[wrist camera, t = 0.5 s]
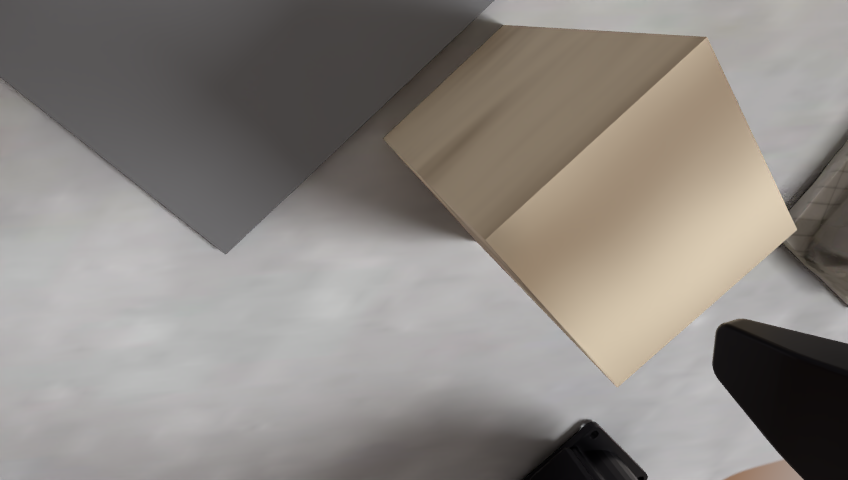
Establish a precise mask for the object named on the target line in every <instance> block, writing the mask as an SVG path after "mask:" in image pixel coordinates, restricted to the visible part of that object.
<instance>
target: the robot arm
mask: <svg viewBox="0 0 848 480" xmlns="http://www.w3.org/2000/svg"><path fill="white" fill-rule="evenodd" d="M712 365H713V370H714V373H715V375H716V377H717V378H718V380H719V381H720V382H721V383H722V385H723V386H724V387H725V388H726V390H727V391H728V392H729V393H730V394H731V396H732V397H733V398H734V399H735V401H736V402H737V403H738V404H739V406H740V407H741V408H742V409H743V410H744V412H745V413H746V414H747V415H748V417H749V418H750V419H751V420H752V421H753V423H754V424H755V425H756V426H757V428H758V429H759V430H760V431H761V433H762V434H763V435H764V436H765V437H766V439H767V440H768V441H769V442H770V443H771V445H772V446H773V447H774V448H775V449H776V451H777V452H778V453H779V454H780V455H781V456H782V457H783V458H784V459H785V460H786V461H787V463H788V464H789V465H790V466H791V467H792V468H793V469H794V470H795V471H796V472H797V473H798V474H799V475H800V476H801V477H802V478H803V479H804V480H848V344H847V343H843V342H838V341H834V340H830V339H826V338H822V337H818V336H814V335H809V334H805V333H801V332H797V331H793V330H789V329H785V328H781V327H776V326H772V325H768V324H764V323H760V322H756V321H752V320H747V319H736V320H733V321H729V322H726V323H723V324H721V325H719V327H718V328H717V330H716V335H715V344H714V352H713V361H712ZM647 478H648V476H647V474H646V473H645V472H644V470H643V469H642V468H641V467H640V466H639V465H638V464H637V463H636V462H635V461H634V460H633V459H632V458H631V457H630V456H629V455H628V454H627V453H626V452H625V451H624V450H623V449H622V448H621V447H620V446H619V445H618V444H617V443H616V442H615V441H614V440H613V439H612V438H611V437H610V436H609V435H608V434H607V433H606V432H605V431H604V430H603V429H602V428H601V427H600V426H599V425H598V424H597V423H596V422H591V423H588V424H587V425H585V426H584V427H583V428H582V429H581V430H580V431H578V432H577V433H576V434H575V435H574V436H573V437H572V438H570V439H569V440H568V441H567V442H566V443H565V444H564V445H562V446H561V447H560V448H559V449H558V450H557V451H556V452H554V453H553V454H552V455H551V456H550V457H549V458H548V459H546V460H545V461H544V462H543V463H542V464H541V465H540V466H538V467H537V468H536V469H535V470H534V471H533V472H532V473H530V474H529V475H528V476H527V477H526V478H525V479H524V480H647Z"/></svg>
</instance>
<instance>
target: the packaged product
mask: <svg viewBox="0 0 848 480" xmlns="http://www.w3.org/2000/svg"><path fill="white" fill-rule="evenodd" d="M789 213H790V215H791V217H792V220H793V222H794V224H795V226H796V228H797V230H796V231H795V232H794V233H793V234H792V235H791V236H790V237H788V238H787V239H786V240H785V241H784V242H783V244H784V245H785V246H786V247H787V248H788V249H789V250H790V251H791V252H792V253H793V254H794V255H795V256H796V257H797V258H798V259H799V260H800V261H801V262H802V263H803V264H804V265H805V266H806V267H807V268H808V269H810V270H811V271H812V272H813V273H815V274H816V275H817V276H818V277H820V278H821V279H822V280H823V281H824V283H825V284H826V285H827V286H828V287H829V288H830V289H831V290H833V291H834V292H835V293H836V294H837V295H838V296H839V297H840V298H841V299H842V300H843V301H844V302H845V303H846V304H847V305H848V140H847V141H846V143H845V144H844V145H843V147H842V148H841V149H840V150H839V151H838V152H837V154H836V155H835V156H834V157H833V158H832V160H831V161H830V162H829V164H828V165H827V166H826V168H825V169H824V170H823V172H822V173H821V174H820V176H819V177H818V178H817V180H816V181H815V182H814V184H813V185H812V186H811V187H810V188H809V189H808V190H807V191H806V193H805V194H804V195H803V196H802V197H801V198H800V199H799V200H798V201H797V202H796V204H795V205H794V206H793V207H792V208H791V209H790V210H789Z"/></svg>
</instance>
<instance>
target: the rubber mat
mask: <svg viewBox="0 0 848 480" xmlns="http://www.w3.org/2000/svg"><path fill="white" fill-rule="evenodd" d="M493 1H494V0H0V77H1V78H2V79H3V80H5V81H6V82H7V83H9V84H10V85H11V86H12V87H14V88H15V89H16V90H17V91H19V92H20V93H21V94H22V95H24V96H25V97H26V98H28V99H29V100H30V101H31V102H33V103H34V104H35V105H36V106H38V107H39V108H40V109H42V110H43V111H44V112H45V113H47V114H48V115H49V116H50V117H52V118H53V119H54V120H55V121H57V122H58V123H59V124H61V125H62V126H63V127H64V128H66V129H67V130H68V131H69V132H71V133H72V134H73V135H75V136H76V137H77V138H78V139H80V140H81V141H82V142H83V143H85V144H86V145H87V146H88V147H90V148H91V149H92V150H94V151H95V152H96V153H97V154H99V155H100V156H101V157H102V158H104V159H105V160H106V161H108V162H109V163H110V164H111V165H113V166H114V167H115V168H116V169H118V170H119V171H120V172H121V173H123V174H124V175H125V176H127V177H128V178H129V179H130V180H132V181H133V182H134V183H135V184H137V185H138V186H139V187H141V188H142V189H143V190H144V191H146V192H147V193H148V194H149V195H151V196H152V197H153V198H154V199H156V200H157V201H158V202H160V203H161V204H162V205H163V206H165V207H166V208H167V209H168V210H170V211H171V212H172V213H174V214H175V215H176V216H177V217H179V218H180V219H181V220H182V221H184V222H185V223H186V224H187V225H189V226H190V227H191V228H193V229H194V230H195V231H196V232H198V233H199V234H200V235H201V236H203V237H204V238H205V239H206V240H208V241H209V242H210V243H212V244H213V245H214V246H215V247H217V248H218V249H219V250H220V251H222V252H223V253H224V254H227V253H228V252H229V251H230V250H231V249H232V248H233V247H234V246H235V245H236V244H237V243H239V242H240V241H241V240H242V239H243V238H244V237H245V236H246V235H247V234H248V233H249V232H250V231H251V230H252V229H253V228H254V227H255V226H257V225H258V224H259V223H260V222H261V221H262V220H263V219H264V218H265V217H266V216H267V215H268V214H269V213H270V212H271V211H272V210H273V209H274V208H276V207H277V206H278V205H279V204H280V203H281V202H282V201H283V200H284V199H285V198H286V197H287V196H288V195H289V194H290V193H291V192H292V191H293V190H295V189H296V188H297V187H298V186H299V185H300V184H301V183H302V182H303V181H304V180H305V179H306V178H307V177H308V176H309V175H310V174H311V173H313V172H314V171H315V170H316V169H317V168H318V167H319V166H320V165H321V164H322V163H323V162H324V161H325V160H326V159H327V158H328V157H329V156H330V155H332V154H333V153H334V152H335V151H336V150H337V149H338V148H339V147H340V146H341V145H342V144H343V143H344V142H345V141H346V140H347V139H348V138H349V137H351V136H352V135H353V134H354V133H355V132H356V131H357V130H358V129H359V128H360V127H361V126H362V125H363V124H364V123H365V122H366V121H367V120H369V119H370V118H371V117H372V116H373V115H374V114H375V113H376V112H377V111H378V110H379V109H380V108H381V107H382V106H383V105H384V104H385V103H386V102H388V101H389V100H390V99H391V98H392V97H393V96H394V95H395V94H396V93H397V92H398V91H399V90H400V89H401V88H402V87H403V86H404V85H405V84H407V83H408V82H409V81H410V80H411V79H412V78H413V77H414V76H415V75H416V74H417V73H418V72H419V71H420V70H421V69H422V68H423V67H425V66H426V65H427V64H428V63H429V62H430V61H431V60H432V59H433V58H434V57H435V56H436V55H437V54H438V53H439V52H440V51H441V50H442V49H444V48H445V47H446V46H447V45H448V44H449V43H450V42H451V41H452V40H453V39H454V38H455V37H456V36H457V35H458V34H459V33H460V32H461V31H463V30H464V29H465V28H466V27H467V26H468V25H469V24H470V23H471V22H472V21H473V20H474V19H475V18H476V17H477V16H478V15H479V14H481V13H482V12H483V11H484V10H485V9H486V8H487V7H488V6H489V5H490V4H491V3H492V2H493Z"/></svg>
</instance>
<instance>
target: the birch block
mask: <svg viewBox="0 0 848 480" xmlns="http://www.w3.org/2000/svg"><path fill="white" fill-rule="evenodd" d="M383 139H384V140H385V142H386V143H387V144H388V145H389V146H390V147H391V148H392V149H393V150H394V151H395V153H396V154H397V155H398V156H399V157H400V158H401V159H402V160H403V161H404V162H405V164H406V165H407V166H408V167H409V168H410V169H411V170H412V171H413V172H414V173H415V175H416V176H417V177H418V178H419V179H420V180H421V181H422V182H423V183H424V184H425V186H426V187H427V188H428V189H429V190H430V191H431V192H432V193H433V194H434V195H435V197H436V198H437V199H438V200H439V201H440V202H441V203H442V204H443V205H444V206H445V208H446V209H447V210H448V211H449V212H450V213H451V214H452V215H453V216H454V217H455V219H456V220H457V221H458V222H459V223H460V224H461V225H462V226H463V227H464V228H465V230H466V231H467V232H468V233H469V234H470V235H471V236H472V237H473V238H474V239H475V241H476V242H477V243H478V244H479V245H480V246H481V247H482V248H483V249H484V250H485V251H486V252H487V253H488V254H489V255H490V256H491V257H492V258H493V259H494V260H495V261H496V262H497V263H498V264H499V265H500V266H501V268H502V269H503V270H504V271H505V272H506V273H507V274H508V275H509V276H510V277H511V278H512V279H513V280H514V281H515V282H516V283H517V284H518V285H519V286H520V287H521V288H522V289H523V290H524V291H525V292H526V293H527V295H528V296H529V297H530V298H531V299H532V300H533V301H534V302H535V303H536V304H537V305H538V306H539V307H540V308H541V309H542V310H543V311H544V312H545V313H546V314H547V315H548V316H549V317H550V318H551V319H552V320H553V321H554V323H555V324H556V325H557V326H558V327H559V328H560V329H561V330H562V331H563V332H564V333H565V334H566V335H567V336H568V337H569V338H570V339H571V340H572V341H573V342H574V343H575V344H576V345H577V346H578V347H579V348H580V349H581V351H582V352H583V353H584V354H585V355H586V356H587V357H588V358H589V359H590V360H591V361H592V362H593V363H594V364H595V365H596V366H597V367H598V368H599V369H600V370H601V371H602V372H603V373H604V374H605V375H606V376H607V377H608V379H609V380H610V381H611V382H612V383H613V384H614V385H615V386H616V387H619V386H620V385H621V384H622V383H623V382H624V381H625V380H627V379H628V378H629V377H630V376H631V375H632V374H633V373H635V372H636V371H637V370H638V369H639V368H640V367H641V366H643V365H644V364H645V363H646V362H647V361H648V360H649V359H650V358H652V357H653V356H654V355H655V354H656V353H657V352H658V351H660V350H661V349H662V348H663V347H664V346H665V345H666V344H668V343H669V342H670V341H671V340H672V339H673V338H674V337H676V336H677V335H678V334H679V333H680V332H681V331H682V330H684V329H685V328H686V327H687V326H688V325H689V324H690V323H692V322H693V321H694V320H695V319H696V318H697V317H698V316H699V315H701V314H702V313H703V312H704V311H705V310H706V309H707V308H709V307H710V306H711V305H712V304H713V303H714V302H715V301H717V300H718V299H719V298H720V297H721V296H722V295H723V294H725V293H726V292H727V291H728V290H729V289H730V288H731V287H733V286H734V285H735V284H736V283H737V282H738V281H739V280H741V279H742V278H743V277H744V276H745V275H746V274H747V273H748V272H750V271H751V270H752V269H753V268H754V267H755V266H756V265H758V264H759V263H760V262H761V261H762V260H763V259H764V258H766V257H767V256H768V255H769V254H770V253H771V252H772V251H774V250H775V249H776V248H777V247H778V246H779V245H780V244H782V243H783V242H784V241H785V240H786V239H787V238H788V237H790V236H791V235H792V234H793V233H794V232H795V231H796V230H797V228H796V226H795V224H794V222H793V220H792V217H791V215H790V213H789V211H788V209H787V207H786V205H785V202H784V200H783V198H782V196H781V194H780V192H779V190H778V188H777V185H776V183H775V181H774V179H773V177H772V175H771V173H770V170H769V168H768V166H767V164H766V162H765V160H764V158H763V156H762V153H761V151H760V149H759V147H758V145H757V143H756V141H755V138H754V136H753V134H752V132H751V130H750V128H749V126H748V124H747V121H746V119H745V117H744V115H743V113H742V111H741V109H740V106H739V104H738V102H737V100H736V98H735V96H734V94H733V92H732V89H731V87H730V85H729V83H728V81H727V79H726V77H725V74H724V72H723V70H722V68H721V66H720V64H719V62H718V60H717V57H716V55H715V53H714V51H713V49H712V47H711V45H710V42H709V40H708V38H707V37H697V36H680V35H663V34H646V33H629V32H612V31H596V30H579V29H562V28H545V27H528V26H511V25H503V26H502V27H501V28H500V29H499V30H498V31H497V32H496V33H495V34H493V35H492V36H491V37H490V38H489V39H488V40H487V41H486V42H485V43H484V44H483V45H482V46H481V47H480V48H479V49H478V50H476V51H475V52H474V53H473V54H472V55H471V56H470V57H469V58H468V59H467V60H466V61H465V62H464V63H463V64H462V65H461V66H459V67H458V68H457V69H456V70H455V71H454V72H453V73H452V74H451V75H450V76H449V77H448V78H447V79H446V80H445V81H444V82H442V83H441V84H440V85H439V86H438V87H437V88H436V89H435V90H434V91H433V92H432V93H431V94H430V95H429V96H428V97H427V98H425V99H424V100H423V101H422V102H421V103H420V104H419V105H418V106H417V107H416V108H415V109H414V110H413V111H412V112H411V113H410V114H409V115H407V116H406V117H405V118H404V119H403V120H402V121H401V122H400V123H399V124H398V125H397V126H396V127H395V128H394V129H393V130H392V131H390V132H389V133H388V134H387V135H386V136H385V137H384V138H383Z"/></svg>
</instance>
